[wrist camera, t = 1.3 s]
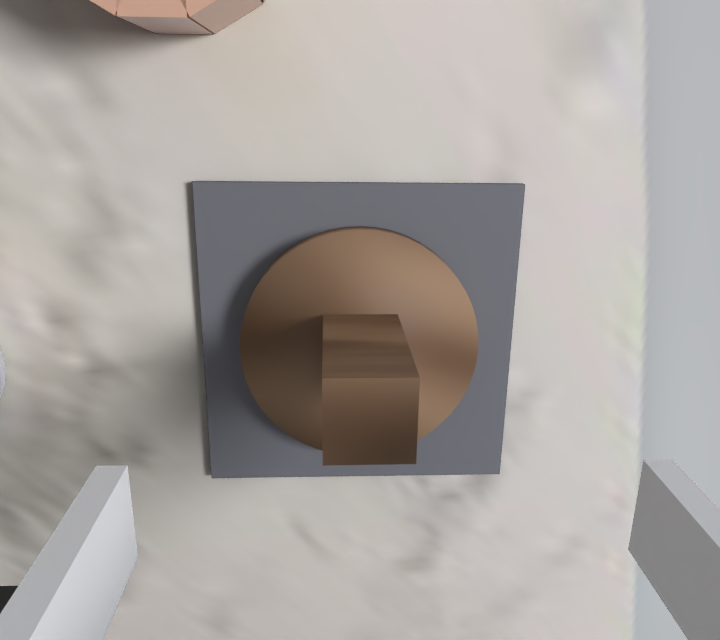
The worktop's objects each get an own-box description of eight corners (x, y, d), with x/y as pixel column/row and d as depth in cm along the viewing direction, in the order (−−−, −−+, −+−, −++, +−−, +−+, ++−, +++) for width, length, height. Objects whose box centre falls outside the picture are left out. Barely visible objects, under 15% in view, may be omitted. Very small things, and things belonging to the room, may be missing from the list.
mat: (497, 469, 32) (499, 473, 32) (213, 473, 32) (211, 478, 31) (522, 183, 28) (525, 184, 28) (194, 180, 27) (192, 181, 27)
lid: (465, 441, 31) (511, 550, 24) (247, 444, 31) (221, 557, 23) (480, 226, 28) (538, 270, 20) (237, 225, 28) (203, 270, 20)
